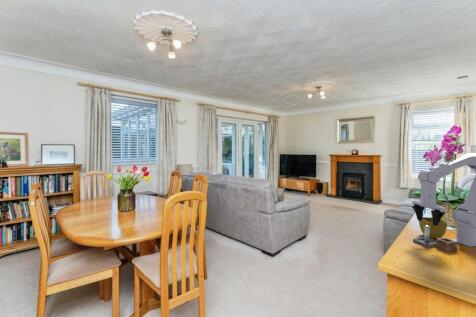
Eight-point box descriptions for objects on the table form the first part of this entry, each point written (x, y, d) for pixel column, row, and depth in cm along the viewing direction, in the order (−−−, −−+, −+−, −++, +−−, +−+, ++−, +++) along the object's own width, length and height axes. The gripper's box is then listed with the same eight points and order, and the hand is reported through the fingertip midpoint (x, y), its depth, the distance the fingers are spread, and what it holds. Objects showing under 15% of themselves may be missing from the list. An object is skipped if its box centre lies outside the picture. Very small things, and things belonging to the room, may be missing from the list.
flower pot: (447, 240, 114) (448, 222, 113) (427, 239, 115) (427, 221, 115) (436, 234, 122) (436, 217, 122) (417, 233, 124) (417, 216, 124)
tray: (426, 239, 115) (426, 237, 114) (441, 245, 108) (441, 242, 108) (413, 241, 113) (413, 238, 113) (427, 247, 106) (427, 244, 106)
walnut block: (444, 245, 107) (445, 237, 107) (456, 250, 103) (457, 241, 102) (436, 246, 107) (436, 238, 106) (447, 251, 102) (448, 242, 101)
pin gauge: (426, 241, 111) (427, 225, 111) (430, 242, 110) (431, 226, 109) (422, 241, 111) (423, 225, 111) (426, 243, 109) (427, 226, 109)
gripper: (407, 192, 116) (406, 218, 116) (437, 198, 102) (436, 228, 102) (419, 191, 117) (418, 217, 118) (449, 197, 103) (449, 227, 103)
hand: (427, 222), depth 110 cm, fingers open, 7 cm apart
